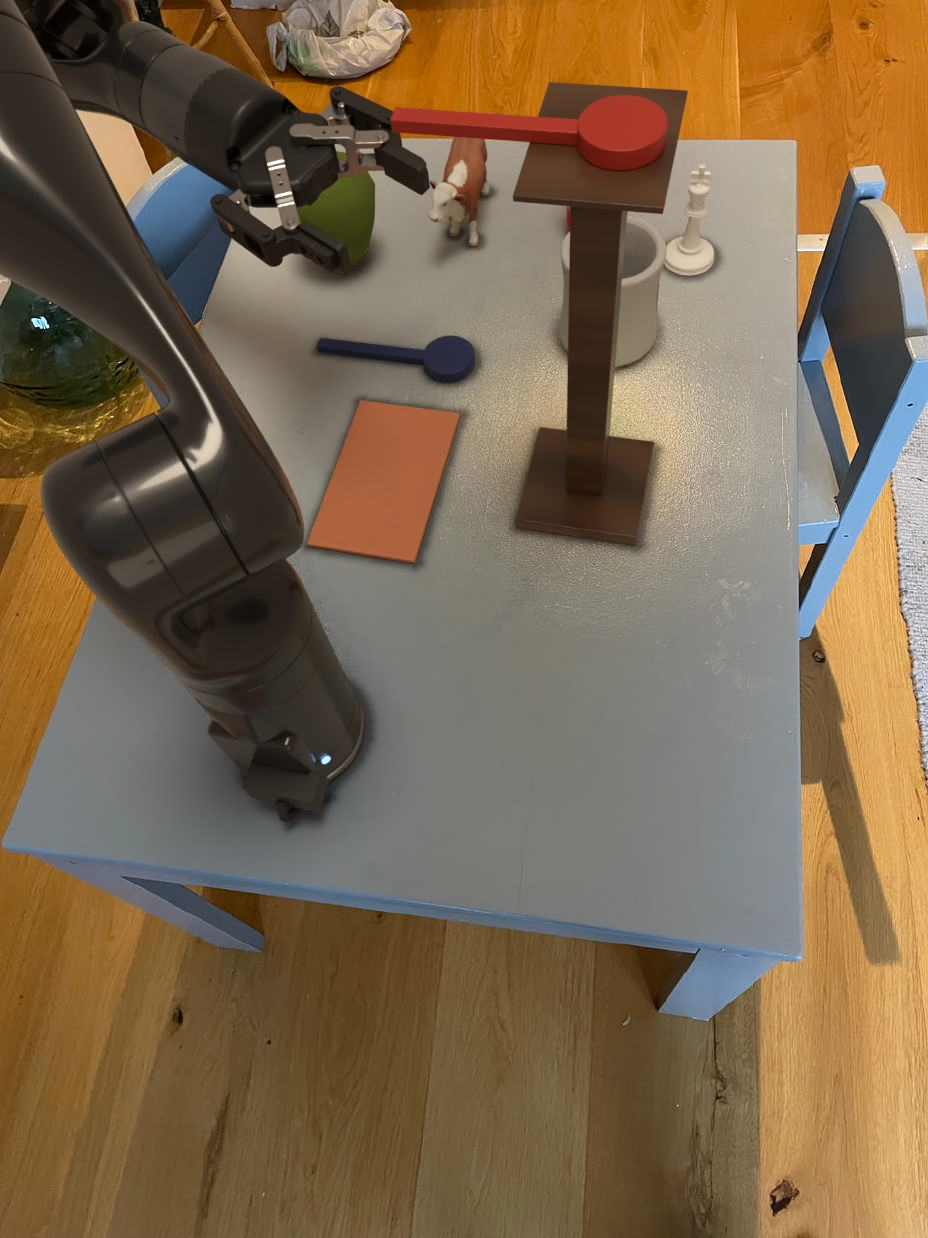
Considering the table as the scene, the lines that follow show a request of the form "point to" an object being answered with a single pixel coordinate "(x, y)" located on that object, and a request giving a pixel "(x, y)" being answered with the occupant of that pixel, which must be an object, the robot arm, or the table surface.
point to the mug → (629, 290)
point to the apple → (345, 212)
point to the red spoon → (559, 129)
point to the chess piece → (692, 232)
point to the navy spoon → (414, 355)
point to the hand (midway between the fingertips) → (386, 220)
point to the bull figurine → (461, 185)
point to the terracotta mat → (385, 481)
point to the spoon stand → (592, 325)
